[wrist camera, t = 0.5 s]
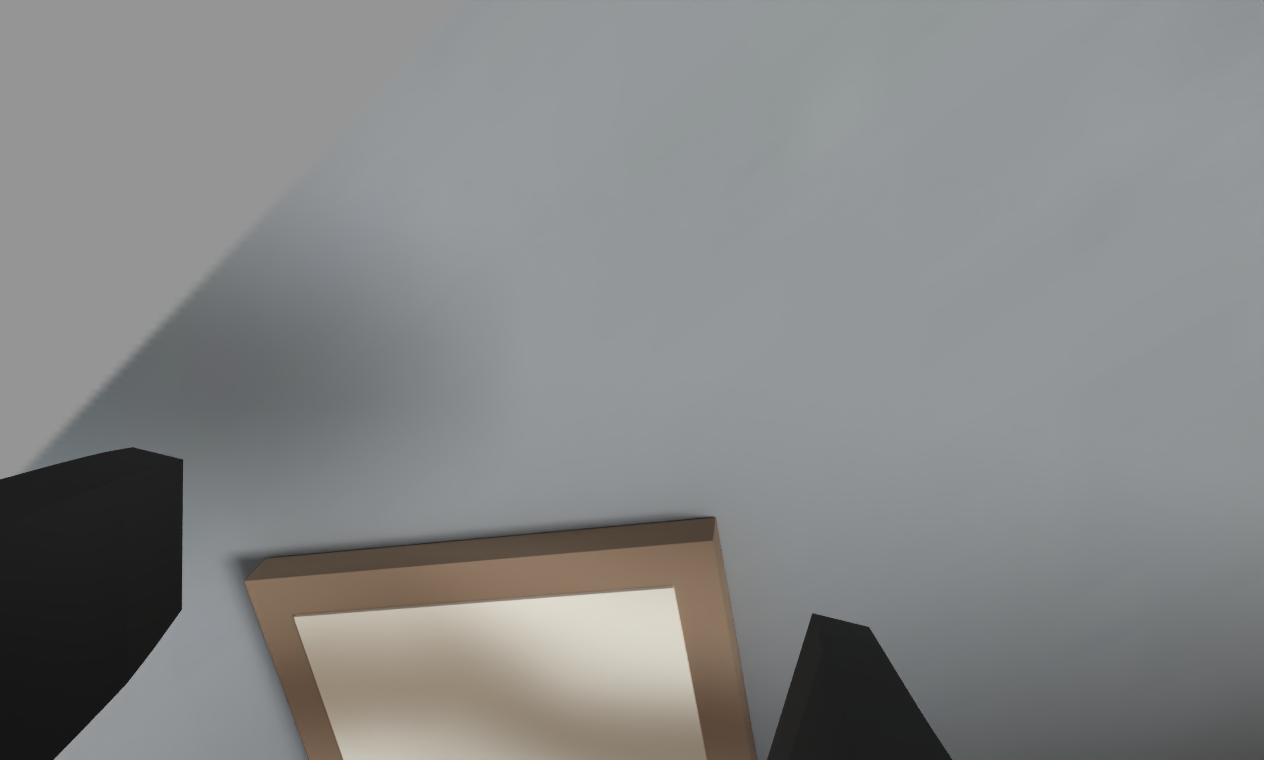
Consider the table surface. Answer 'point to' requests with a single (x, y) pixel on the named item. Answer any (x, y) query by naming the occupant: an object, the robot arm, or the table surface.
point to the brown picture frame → (512, 647)
